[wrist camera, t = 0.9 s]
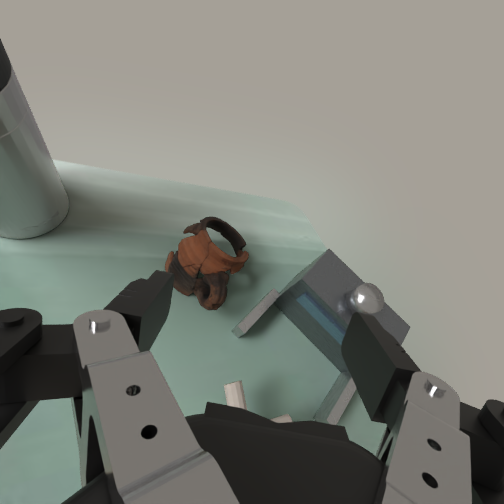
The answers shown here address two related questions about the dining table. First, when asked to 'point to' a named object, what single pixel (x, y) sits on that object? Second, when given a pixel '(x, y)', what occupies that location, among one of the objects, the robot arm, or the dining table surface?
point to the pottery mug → (206, 262)
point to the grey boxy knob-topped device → (329, 318)
